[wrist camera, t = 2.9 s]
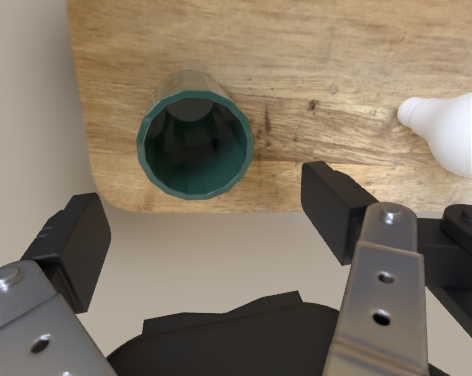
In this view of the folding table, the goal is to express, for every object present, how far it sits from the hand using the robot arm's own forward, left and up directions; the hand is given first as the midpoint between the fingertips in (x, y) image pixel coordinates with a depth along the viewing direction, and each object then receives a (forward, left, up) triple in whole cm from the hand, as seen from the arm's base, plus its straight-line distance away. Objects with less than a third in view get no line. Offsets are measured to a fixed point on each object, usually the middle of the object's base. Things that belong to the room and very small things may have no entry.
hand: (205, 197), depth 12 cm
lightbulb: (+18, +8, -15) cm, 24 cm away
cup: (0, 0, -14) cm, 14 cm away
